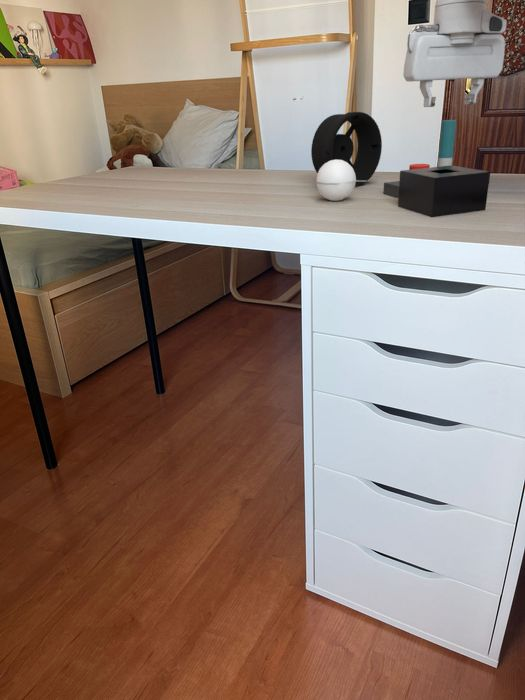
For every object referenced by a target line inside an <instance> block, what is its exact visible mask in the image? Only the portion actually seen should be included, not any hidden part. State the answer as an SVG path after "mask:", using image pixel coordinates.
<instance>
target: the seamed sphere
mask: <svg viewBox="0 0 525 700" xmlns="http://www.w3.org/2000/svg"><path fill="white" fill-rule="evenodd" d="M315 182H316V188H317V190H318V192H319V194H320V195H321V196H322V197H323V198H324V199H326V200H329V201H331V202H339V201H343V200H345V199H346V198H348V197H349V196H350V195H351V194H352V193H353V191H354V189H355V188H356V187H355V183H356V175H355V172H354V170H353V168H352V167H351V166H350V165H349V164H348V163H347V162H345V161H343V160H330V161H329V162H327V163H325V164H324V165H323V166H322V167H321V168H320V169H319V172H318V174H316V179H315Z"/></svg>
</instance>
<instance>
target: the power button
mask: <svg viewBox="0 0 525 700" xmlns="http://www.w3.org/2000/svg"><path fill="white" fill-rule="evenodd" d="M408 166H409V168H408V170H412V169H422V168H431V167H430V164H428V163H413V164H409V165H408Z"/></svg>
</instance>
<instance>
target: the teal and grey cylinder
mask: <svg viewBox="0 0 525 700" xmlns="http://www.w3.org/2000/svg"><path fill="white" fill-rule="evenodd" d="M456 128H457V119H444V120H441V123H440V135H439V136H440V137H439V147H438V158H437V167H441V166H450V165H452V166H453V160H454V159H453V158H454V148H455V139H456V138H455V137H456Z"/></svg>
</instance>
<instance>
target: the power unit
mask: <svg viewBox="0 0 525 700" xmlns="http://www.w3.org/2000/svg"><path fill="white" fill-rule="evenodd" d="M399 182H400V180H396V181H395V180H394V181H387V182H384V183H383V191H382V192H383V193H382V194H383V195H386V196H389V197H392V198H396V199H399Z"/></svg>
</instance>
